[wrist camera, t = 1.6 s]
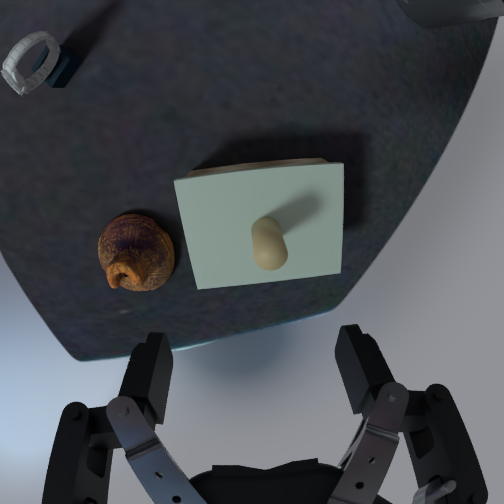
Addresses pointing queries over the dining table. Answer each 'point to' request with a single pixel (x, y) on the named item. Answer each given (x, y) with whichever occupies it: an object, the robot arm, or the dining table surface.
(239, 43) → the dining table surface
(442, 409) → the robot arm
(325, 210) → the lid
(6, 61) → the watch
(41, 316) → the dining table surface
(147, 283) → the brown rounded piece
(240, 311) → the dining table surface
